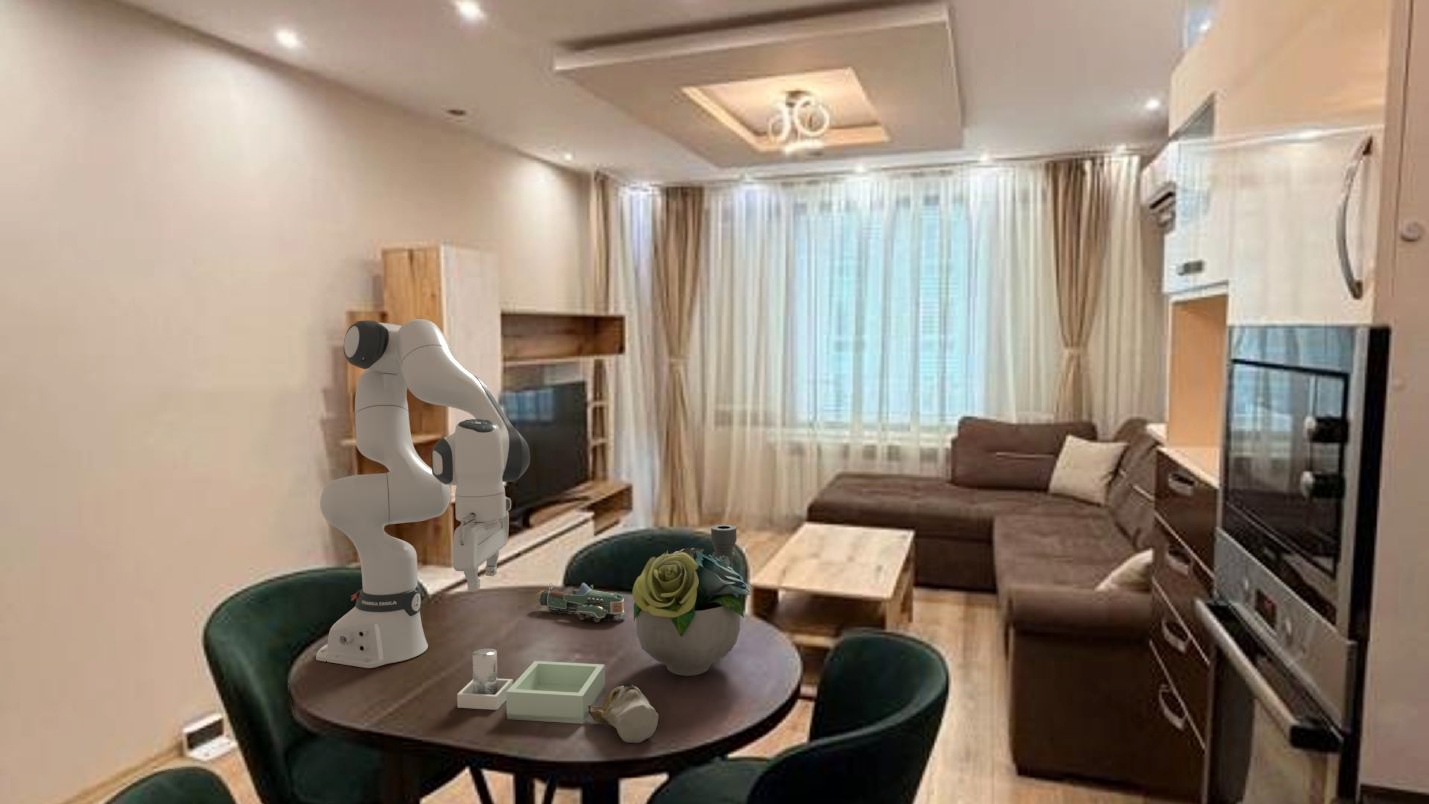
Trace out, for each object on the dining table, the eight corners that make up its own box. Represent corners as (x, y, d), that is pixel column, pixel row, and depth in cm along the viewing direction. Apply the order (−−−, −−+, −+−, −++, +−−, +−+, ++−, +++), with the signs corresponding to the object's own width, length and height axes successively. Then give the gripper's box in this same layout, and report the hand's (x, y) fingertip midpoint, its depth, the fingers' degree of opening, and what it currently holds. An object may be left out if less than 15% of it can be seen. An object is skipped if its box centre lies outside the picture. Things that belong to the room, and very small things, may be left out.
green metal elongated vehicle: (615, 628, 191) (614, 593, 190) (524, 615, 200) (524, 582, 199) (633, 615, 200) (633, 582, 199) (546, 603, 209) (545, 572, 208)
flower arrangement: (664, 639, 183) (663, 531, 181) (767, 657, 172) (767, 543, 170) (602, 680, 161) (600, 558, 159) (716, 704, 150) (715, 574, 148)
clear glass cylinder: (469, 704, 151) (468, 656, 150) (479, 694, 155) (478, 647, 154) (492, 705, 150) (491, 658, 149) (501, 695, 154) (500, 649, 154)
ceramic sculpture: (612, 702, 131) (583, 674, 145) (613, 756, 131) (585, 723, 145) (672, 690, 136) (639, 664, 149) (674, 741, 136) (641, 711, 149)
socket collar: (457, 707, 149) (457, 694, 149) (475, 690, 157) (475, 677, 157) (497, 709, 148) (496, 696, 148) (513, 692, 156) (512, 679, 156)
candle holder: (717, 643, 180) (716, 531, 179) (706, 634, 186) (705, 525, 184) (742, 638, 183) (742, 529, 181) (731, 630, 189) (730, 523, 187)
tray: (506, 718, 145) (506, 691, 144) (535, 686, 159) (534, 660, 158) (583, 723, 143) (582, 696, 142) (605, 689, 157) (604, 664, 156)
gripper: (478, 520, 139) (480, 599, 140) (513, 498, 160) (515, 567, 161) (442, 520, 140) (444, 599, 141) (482, 498, 160) (484, 567, 161)
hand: (482, 582), depth 151 cm, fingers open, 8 cm apart
